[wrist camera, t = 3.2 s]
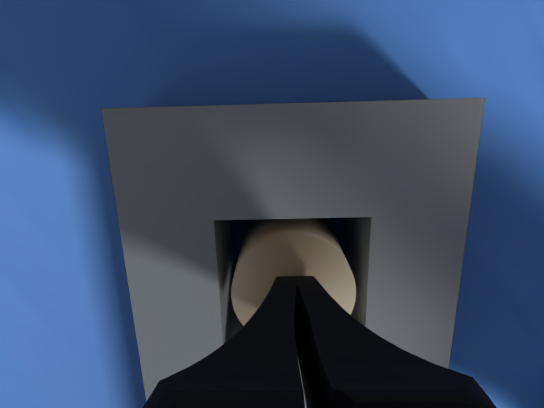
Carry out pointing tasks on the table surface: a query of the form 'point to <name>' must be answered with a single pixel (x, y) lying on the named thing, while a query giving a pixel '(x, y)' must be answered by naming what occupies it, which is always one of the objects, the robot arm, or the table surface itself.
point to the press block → (292, 211)
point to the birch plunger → (289, 262)
